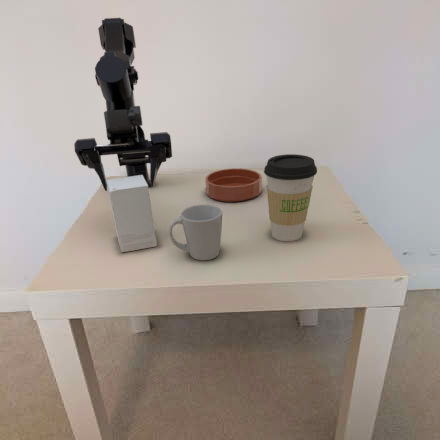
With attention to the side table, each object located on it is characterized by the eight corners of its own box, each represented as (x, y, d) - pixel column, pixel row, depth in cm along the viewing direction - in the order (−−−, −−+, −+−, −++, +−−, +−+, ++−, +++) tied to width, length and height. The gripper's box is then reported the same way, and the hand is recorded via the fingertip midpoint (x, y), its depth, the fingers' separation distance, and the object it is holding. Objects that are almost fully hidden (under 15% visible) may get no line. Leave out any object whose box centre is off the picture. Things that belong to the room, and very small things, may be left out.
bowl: (196, 190, 105) (195, 175, 103) (242, 179, 111) (241, 165, 109) (224, 207, 95) (223, 191, 93) (272, 194, 101) (273, 178, 98)
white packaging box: (158, 246, 80) (148, 185, 73) (120, 253, 78) (107, 191, 71) (152, 231, 86) (143, 173, 79) (117, 237, 84) (105, 178, 77)
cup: (228, 260, 74) (226, 218, 69) (174, 268, 73) (169, 225, 68) (220, 242, 80) (218, 202, 75) (170, 248, 79) (165, 208, 74)
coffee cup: (306, 248, 77) (313, 170, 68) (257, 242, 80) (257, 167, 71) (314, 227, 84) (321, 154, 76) (269, 222, 87) (271, 152, 79)
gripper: (63, 94, 73) (69, 172, 70) (164, 87, 75) (174, 162, 72) (79, 130, 84) (85, 199, 81) (167, 123, 86) (176, 190, 83)
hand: (129, 187), depth 79 cm, fingers open, 9 cm apart
